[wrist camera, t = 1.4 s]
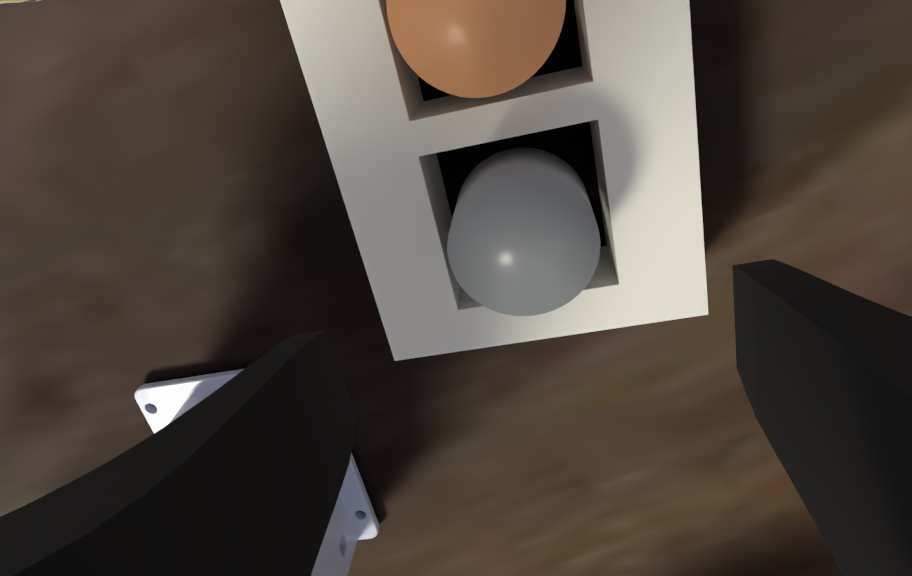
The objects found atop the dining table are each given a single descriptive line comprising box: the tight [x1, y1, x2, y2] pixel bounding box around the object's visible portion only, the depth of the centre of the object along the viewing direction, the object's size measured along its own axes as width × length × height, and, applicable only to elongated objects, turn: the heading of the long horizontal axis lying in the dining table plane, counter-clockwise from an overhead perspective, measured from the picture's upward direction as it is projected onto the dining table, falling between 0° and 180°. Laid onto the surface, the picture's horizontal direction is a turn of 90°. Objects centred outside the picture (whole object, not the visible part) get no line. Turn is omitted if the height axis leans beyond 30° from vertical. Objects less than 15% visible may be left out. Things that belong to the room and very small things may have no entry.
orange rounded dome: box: [386, 0, 566, 98], centre depth 15 cm, size 4×4×3 cm
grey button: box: [447, 148, 601, 316], centre depth 18 cm, size 4×4×3 cm
